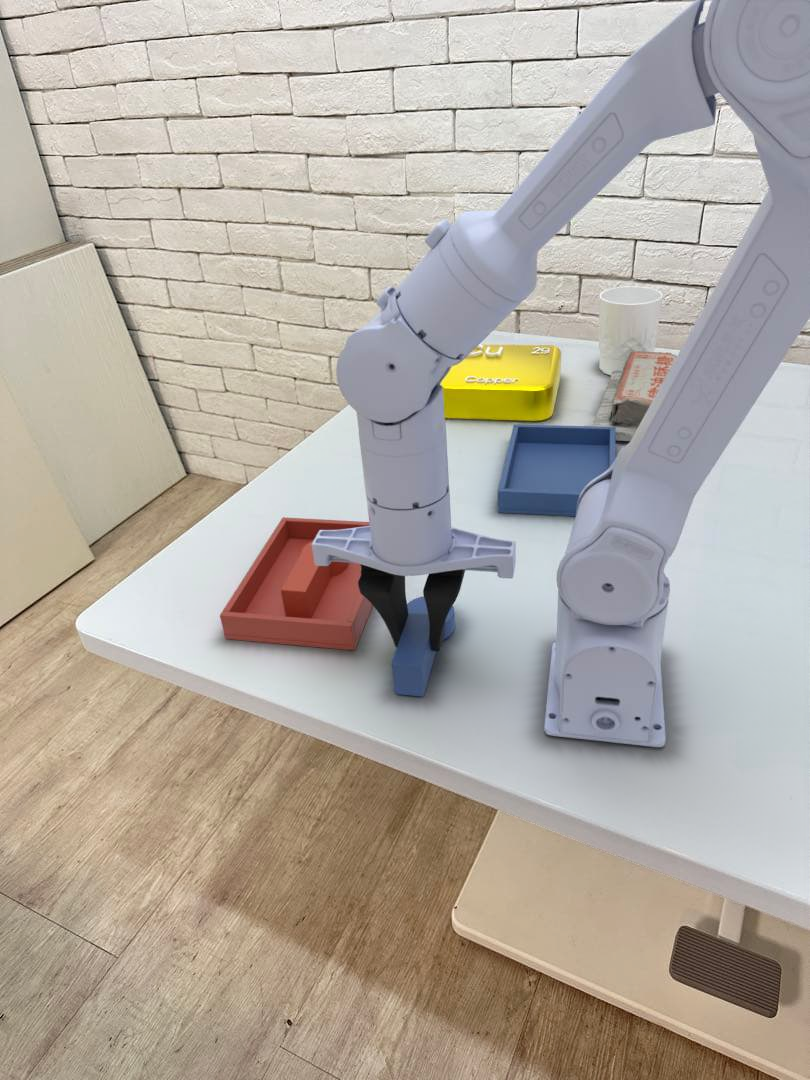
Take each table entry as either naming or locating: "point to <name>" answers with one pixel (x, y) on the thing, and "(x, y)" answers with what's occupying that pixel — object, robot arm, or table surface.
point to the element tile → (504, 383)
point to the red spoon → (307, 584)
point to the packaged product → (633, 392)
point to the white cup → (627, 324)
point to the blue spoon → (416, 650)
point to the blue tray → (552, 467)
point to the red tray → (261, 604)
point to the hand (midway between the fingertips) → (420, 641)
